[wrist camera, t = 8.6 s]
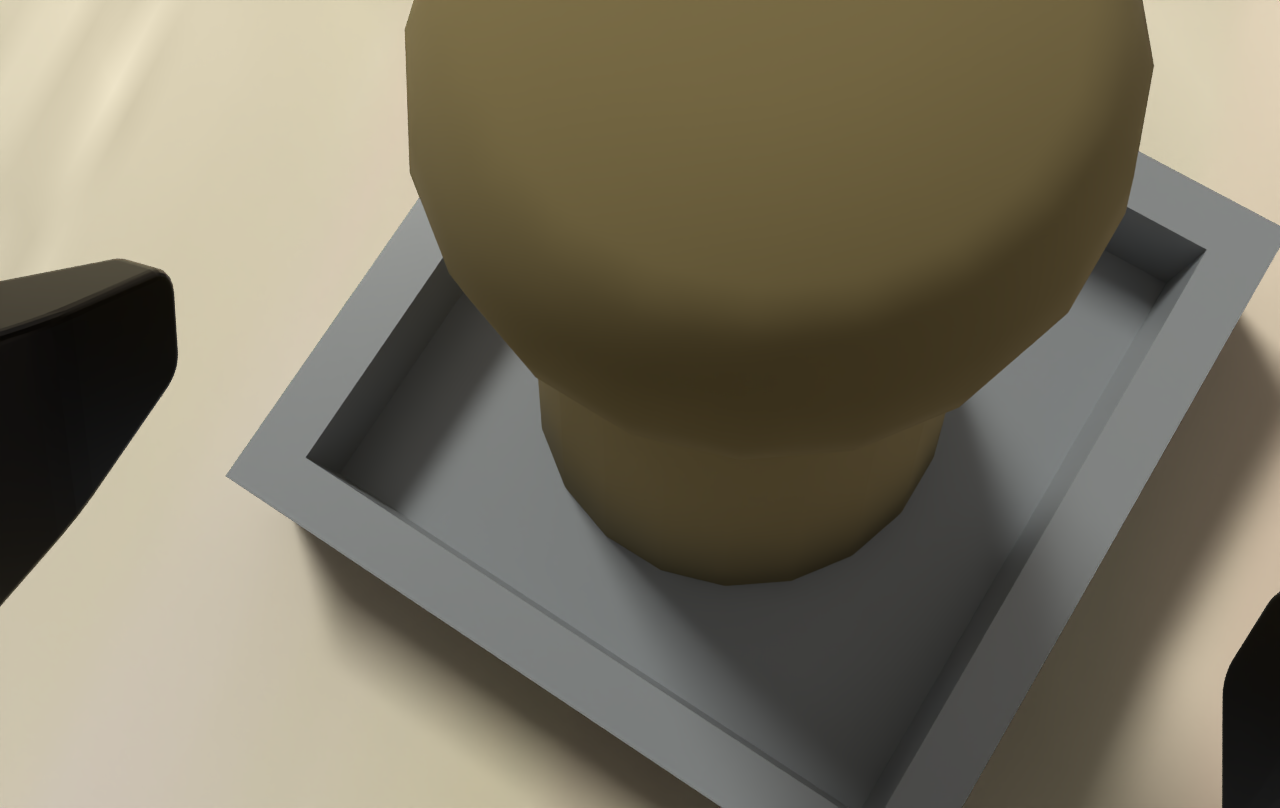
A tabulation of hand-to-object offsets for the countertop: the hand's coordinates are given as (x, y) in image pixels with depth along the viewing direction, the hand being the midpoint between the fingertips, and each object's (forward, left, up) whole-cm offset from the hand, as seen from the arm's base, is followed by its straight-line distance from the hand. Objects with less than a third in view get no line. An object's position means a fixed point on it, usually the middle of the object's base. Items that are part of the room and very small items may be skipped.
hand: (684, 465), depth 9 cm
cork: (+2, +1, -8) cm, 9 cm away
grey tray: (+3, +1, -9) cm, 9 cm away
